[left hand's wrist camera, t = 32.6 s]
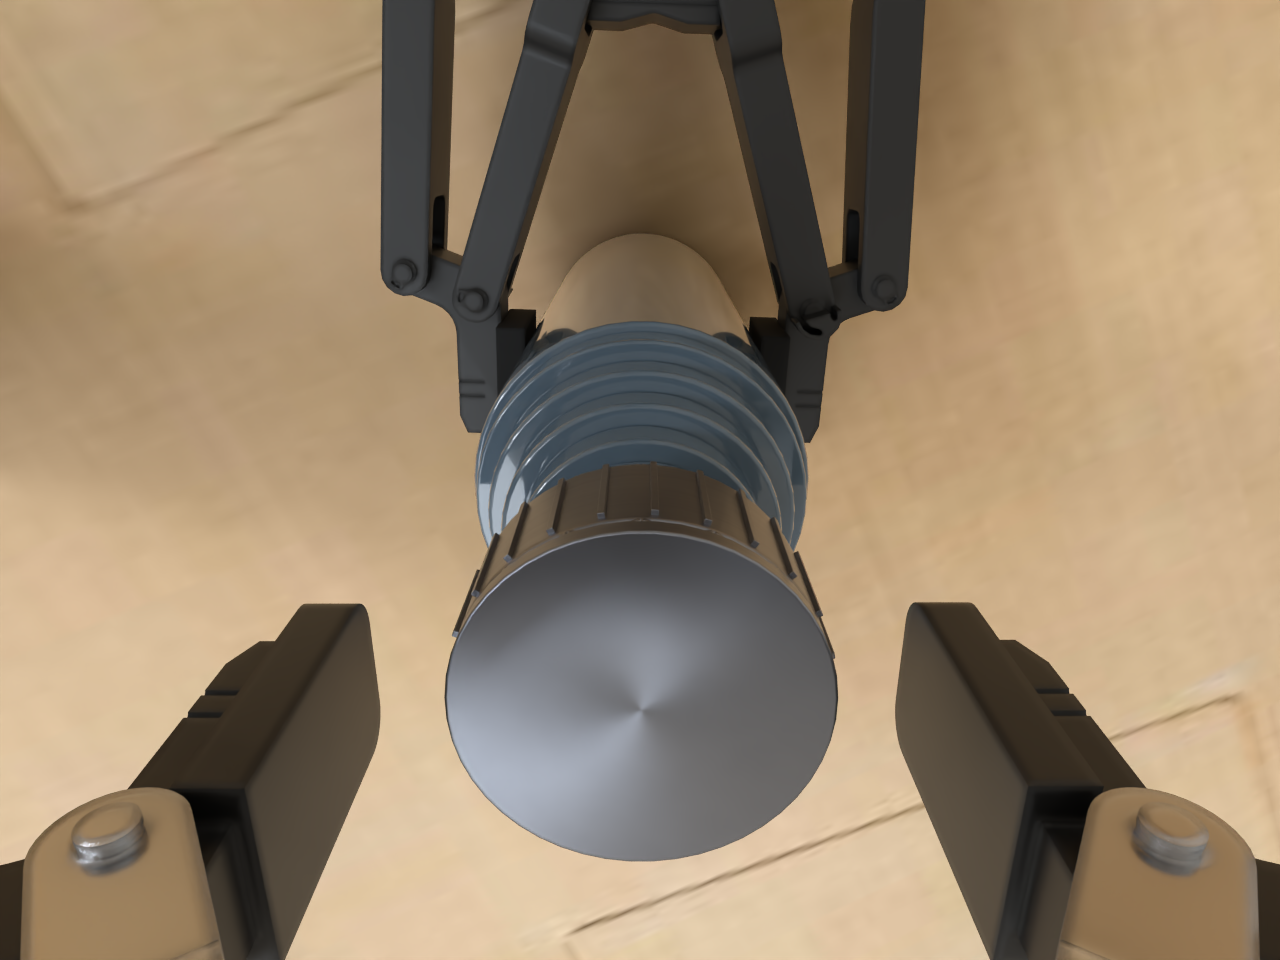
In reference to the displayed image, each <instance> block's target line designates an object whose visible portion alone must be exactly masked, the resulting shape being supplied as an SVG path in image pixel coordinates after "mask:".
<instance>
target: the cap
mask: <svg viewBox="0 0 1280 960" xmlns="http://www.w3.org/2000/svg"><path fill="white" fill-rule="evenodd" d="M821 616H823V614H822V611H821V608H820V606H819V603H818V601H817V598H816V595H815V593H814V590H813V588H812V585H811V582H810V580H809V577H808V574H807V572H806V569H805V567H804V564H803V561H802V559H801V556H800V554H799V552H798V551H797V552H795V553H794V552H793V550H792V549H791V547H790V545H789V543H788V541H787V540H786V538H785V536H784V535H783V534H782V531H781V528H780V526H779V523H778V520H777V519H776V518H775V517H772V518H771V519H770V518H769V517H768V516H767V515H766V514H765V513H764V512H763V511H762V510H761V509H760V508H759V507H758V506H757V505H756V504H754V503H753V502H752V501H750V500H749V499H748V498H746V495H745V492H744V491H743V490H742V489H739V490H738V491H736V490H734V489H732V488H731V487H729V486H727V485H725V484H723V483H721V482H720V481H717V480H715V479H712V478H710V477H708V476H705V475H704V473H703V471H701V470H698V469H697V471H696V472H692V471H688V470H684V469H680V468H676V467H668V466H660V465H657V462H654V461H650V465H648V464H641V465H640V464H635V465H623V466H614V467H610V466H609V464H605V465H603V467H602V469H599V470H595V471H591V472H587V473H583V474H580V475H578V476H575V477H573V478H571V479H568V480H565V478H561V479H559V480H558V484H557V485H556V486H554V487H552V488H550V489H548V490H547V491H545V492H543V493H542V494H541V495H539V496H538V497H536V498H535V499H534V500H532V501H531V502H530V503H527V502H526V501H525V502H523V503H522V504H521V506H520V509H519V512H518V513H517V514H516V515H515V516H514V517H513V518H512V519H511V520H510V522H509V523H508V524H507V526H506V527H505V528H504V529H503V531H502V532H501V533H500V535H499V534H497V533H495V534H494V536H493V537H492V540H491V543H490V545H489V548H488V550H487V553H486V556H485V558H484V561H483V564H482V566H481V569H480V570H477V571H476V573H475V576H474V579H473V581H472V584H471V586H470V589H469V592H468V594H467V597H466V599H465V602H464V605H463V607H462V610H461V612H460V615H459V618H458V620H457V623H456V625H455V628H454V631H453V634H452V636H453V637H456V641H455V643H454V646H453V649H452V652H451V655H450V659H449V664H448V668H447V673H446V681H445V707H446V718H447V722H448V726H449V730H450V734H451V738H452V741H453V744H454V746H455V749H456V751H457V753H458V756H459V758H460V761H461V762H462V764H463V766H464V767H465V769H466V771H467V772H468V774H469V776H470V777H471V779H472V781H473V782H474V783H475V784H476V786H477V787H478V788H479V789H480V791H481V792H482V793H483V794H484V796H485V797H486V798H487V799H488V800H489V801H490V802H491V803H492V804H493V805H494V806H496V807H497V808H498V809H499V810H500V811H501V812H502V813H503V814H504V815H506V816H507V817H508V818H510V819H511V820H512V821H514V822H515V823H516V824H518V825H519V826H521V827H522V828H524V829H526V830H527V831H529V832H531V833H533V834H534V835H536V836H538V837H539V838H542V839H544V840H546V841H548V842H551V843H553V844H555V845H557V846H560V847H562V848H566V849H569V850H572V851H575V852H578V853H581V854H585V855H590V856H595V857H599V858H604V859H612V860H622V861H661V860H671V859H679V858H684V857H688V856H693V855H698V854H702V853H705V852H708V851H711V850H714V849H718V848H721V847H723V846H726V845H728V844H730V843H732V842H735V841H737V840H739V839H741V838H744V837H745V836H747V835H749V834H750V833H752V832H754V831H756V830H757V829H759V828H761V827H762V826H764V825H765V824H767V823H768V822H769V821H771V820H772V819H773V818H775V817H776V816H777V815H779V814H780V813H781V812H782V811H783V810H784V809H785V808H786V807H787V806H788V805H789V804H790V803H792V802H793V801H794V800H795V799H796V798H797V797H798V795H799V794H800V793H801V792H802V790H803V789H804V788H805V787H806V785H807V784H808V783H809V782H810V780H811V779H812V777H813V775H814V774H815V772H816V770H817V769H818V767H819V765H820V764H821V762H822V760H823V758H824V755H825V753H826V751H827V748H828V746H829V743H830V741H831V737H832V733H833V729H834V725H835V722H836V715H837V704H838V687H837V674H836V670H835V665H834V661H833V659H835V654H834V651H833V648H832V645H831V643H830V640H829V637H828V635H827V632H826V629H825V627H824V624H823V621H822V619H821Z"/></svg>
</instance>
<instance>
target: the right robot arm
mask: <svg viewBox="0 0 1280 960" xmlns="http://www.w3.org/2000/svg"><path fill="white" fill-rule="evenodd" d="M924 15H925V0H853V4H852V12H851V23H850V47H849V76H848V104H847V133H846V162H845V191H844V220H843V248H842V263H841V264H838V265H835V266H832V267H829V268H828V267H827V262H826V258H825V253H824V248H823V244H822V239H821V234H820V230H819V225H818V220H817V216H816V211H815V206H814V202H813V197H812V193H811V188H810V183H809V179H808V174H807V169H806V165H805V160H804V155H803V151H802V146H801V141H800V137H799V132H798V127H797V123H796V118H795V113H794V109H793V104H792V99H791V95H790V90H789V85H788V81H787V76H786V71H785V67H784V62H783V56H782V39H781V32H780V26H779V22H778V17H777V12H776V7H775V3H774V0H533V4H532V7H531V11H530V14H529V18H528V22H527V26H526V31H525V38H524V46H523V50H522V54H521V57H520V61H519V64H518V67H517V71H516V74H515V78H514V81H513V85H512V88H511V92H510V95H509V99H508V102H507V106H506V109H505V112H504V116H503V119H502V123H501V126H500V130H499V133H498V137H497V140H496V144H495V147H494V151H493V154H492V157H491V161H490V164H489V168H488V171H487V175H486V178H485V182H484V185H483V189H482V192H481V196H480V199H479V202H478V206H477V209H476V213H475V216H474V220H473V223H472V227H471V230H470V234H469V237H468V241H467V244H466V247H465V251H464V254H463V256H461V255H458V254H456V253H453V252H451V251H448V250H447V236H448V207H449V177H450V148H451V118H452V89H453V59H454V30H455V0H383V6H382V145H381V275H382V279H383V281H384V283H385V284H386V286H387V287H388V288H389V289H390V290H391V291H393V292H394V293H396V294H399V295H402V296H408V295H413V296H416V297H418V298H421V299H424V300H426V301H429V302H431V303H434V304H436V305H438V306H440V307H442V308H443V309H444V310H446V311H447V312H448V313H449V315H450V316H451V317H452V319H453V321H454V323H455V326H456V331H457V350H458V374H459V393H460V416H461V418H462V420H463V422H464V424H465V427H466V429H467V431H468V432H471V433H481V432H482V430H483V427H484V424H485V422H486V419H487V417H488V414H489V412H490V411H491V409H492V407H493V405H494V403H495V401H496V400H497V398H498V396H499V394H500V392H501V391H502V389H503V387H504V385H505V384H506V382H507V380H508V378H509V376H510V375H511V373H512V371H513V369H514V368H515V366H516V364H517V362H518V360H519V359H520V357H521V355H522V353H523V352H524V350H525V348H526V346H527V344H528V343H529V341H530V339H531V337H532V336H533V334H534V332H535V330H536V310H524V309H510V310H509V311H508V297H509V296H510V294H511V292H512V290H513V289H512V288H511V287H512V284H513V281H514V277H515V274H516V271H517V268H518V265H519V261H520V258H521V255H522V252H523V249H524V245H525V242H526V239H527V236H528V233H529V229H530V226H531V223H532V220H533V217H534V213H535V210H536V207H537V204H538V201H539V197H540V194H541V191H542V188H543V185H544V181H545V178H546V175H547V172H548V169H549V165H550V162H551V159H552V156H553V153H554V149H555V146H556V143H557V140H558V137H559V133H560V130H561V127H562V124H563V121H564V118H565V114H566V111H567V108H568V105H569V102H570V98H571V95H572V92H573V89H574V86H575V82H576V79H577V76H578V73H579V70H580V68H581V66H582V64H583V61H584V58H585V55H586V52H587V49H588V46H589V43H590V40H591V36H592V33H593V30H610V31H624V30H628V29H632V28H636V27H639V26H643V25H647V24H651V23H654V24H658V25H661V26H664V27H667V28H670V29H673V30H676V31H679V32H681V33H692V34H712V37H713V41H714V46H715V50H716V54H717V58H718V62H719V65H720V68H721V71H722V74H723V76H724V80H725V84H726V88H727V92H728V96H729V100H730V105H731V109H732V113H733V117H734V121H735V126H736V130H737V134H738V138H739V142H740V147H741V151H742V155H743V159H744V163H745V167H746V172H747V176H748V180H749V184H750V188H751V193H752V197H753V201H754V205H755V209H756V214H757V218H758V222H759V226H760V230H761V235H762V239H763V243H764V247H765V251H766V256H767V260H768V264H769V268H770V272H771V277H772V281H773V285H774V289H775V293H776V298H777V302H778V304H779V310H778V320H777V319H776V318H766V317H750V325H749V333H750V335H751V337H752V339H753V340H754V342H755V344H756V346H757V347H758V349H759V351H760V353H761V355H762V356H763V358H764V360H765V362H766V364H767V365H768V367H769V369H770V371H771V372H772V374H773V376H774V378H775V380H776V381H777V383H778V385H779V387H780V389H781V390H782V392H783V394H784V396H785V397H786V399H787V401H788V403H789V405H790V407H791V409H792V411H793V413H794V415H795V416H796V419H797V421H798V424H799V427H800V430H801V433H802V436H803V439H804V443H810V442H811V440H812V438H813V436H814V434H815V432H816V430H817V429H818V427H819V420H820V411H821V402H822V391H823V384H824V375H825V366H826V358H827V349H828V342H829V338H830V336H831V335H832V334H833V333H834V332H835V331H836V330H837V329H838V328H839V325H840V323H842V322H843V321H845V320H847V319H849V318H852V317H855V316H858V315H861V314H864V313H867V312H870V311H874V310H876V311H882V312H884V311H888V310H892V309H893V308H895V307H896V306H898V305H899V304H900V303H901V302H902V300H903V299H904V297H905V296H906V292H907V288H908V273H909V257H910V240H911V224H912V208H913V192H914V176H915V160H916V144H917V128H918V111H919V95H920V79H921V63H922V47H923V31H924Z"/></svg>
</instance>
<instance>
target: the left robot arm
mask: <svg viewBox="0 0 1280 960" xmlns="http://www.w3.org/2000/svg"><path fill="white" fill-rule="evenodd" d="M895 719H896V730H897V736H898V741H899V745H900V748H901V751H902V754H903V756H904V758H905V761H906V763H907V765H908V768H909V770H910V772H911V775H912V777H913V780H914V782H915V784H916V787H917V789H918V791H919V794H920V796H921V798H922V801H923V803H924V805H925V808H926V810H927V812H928V815H929V817H930V820H931V822H932V824H933V827H934V829H935V831H936V834H937V836H938V838H939V841H940V843H941V845H942V848H943V850H944V852H945V855H946V857H947V859H948V862H949V864H950V867H951V869H952V871H953V874H954V876H955V878H956V881H957V883H958V885H959V888H960V890H961V892H962V895H963V897H964V899H965V902H966V904H967V906H968V909H969V911H970V914H971V916H972V918H973V921H974V923H975V925H976V928H977V930H978V932H979V935H980V937H981V939H982V942H983V944H984V946H985V949H986V951H987V953H988V956H989V958H990V960H1280V864H1276V863H1271V862H1267V861H1262V860H1259V859H1255V858H1254V856H1253V853H1252V851H1251V849H1250V848H1249V846H1248V845H1247V843H1246V842H1245V840H1244V839H1243V838H1242V837H1241V836H1240V835H1239V834H1238V833H1237V832H1236V831H1235V830H1234V829H1233V828H1232V827H1231V826H1229V825H1228V824H1227V823H1226V822H1225V821H1223V820H1222V819H1220V818H1219V817H1218V816H1216V815H1215V814H1213V813H1212V812H1210V811H1208V810H1206V809H1205V808H1203V807H1201V806H1199V805H1197V804H1195V803H1193V802H1191V801H1188V800H1186V799H1184V798H1181V797H1178V796H1175V795H1173V794H1169V793H1166V792H1162V791H1158V790H1152V789H1147V788H1146V787H1145V786H1144V784H1143V783H1142V782H1141V781H1140V779H1139V778H1138V777H1137V775H1136V774H1135V773H1134V772H1133V770H1132V769H1131V768H1130V766H1129V765H1128V764H1127V763H1126V761H1125V760H1124V759H1123V757H1122V756H1121V755H1120V754H1119V752H1118V751H1117V750H1116V748H1115V747H1114V746H1113V745H1112V743H1111V742H1110V741H1109V739H1108V738H1107V737H1106V736H1105V734H1104V733H1103V732H1102V730H1101V729H1100V728H1099V727H1098V725H1097V724H1096V723H1095V721H1094V720H1093V719H1092V718H1091V716H1086V710H1085V709H1084V707H1083V706H1082V705H1081V703H1080V702H1079V701H1078V700H1077V698H1076V697H1075V696H1074V694H1069V688H1068V687H1067V685H1066V684H1065V683H1064V682H1063V680H1062V679H1061V678H1060V676H1059V675H1058V674H1057V673H1056V671H1055V670H1054V669H1053V667H1052V666H1051V665H1050V664H1049V662H1047V661H1046V660H1044V659H1043V658H1041V657H1040V656H1038V655H1037V654H1035V653H1034V652H1032V651H1031V650H1029V649H1028V648H1026V647H1025V646H1023V645H1022V644H1020V643H1019V642H1017V641H1016V640H999V638H998V637H997V636H996V634H995V633H994V631H993V630H992V629H991V627H990V626H989V624H988V623H987V622H986V620H985V619H984V617H983V616H982V615H981V613H980V612H979V610H978V609H977V608H976V607H975V605H974V604H972V603H969V602H915V603H913V604H912V605H911V606H910V608H909V610H908V613H907V617H906V624H905V632H904V640H903V648H902V656H901V663H900V671H899V679H898V687H897V695H896V704H895ZM379 728H380V699H379V692H378V684H377V676H376V668H375V661H374V653H373V645H372V637H371V630H370V622H369V617H368V613H367V610H366V608H365V607H364V606H363V605H362V604H303V605H302V606H301V607H300V608H299V609H298V610H297V612H296V613H295V614H294V616H293V617H292V619H291V620H290V621H289V623H288V624H287V625H286V627H285V628H284V630H283V631H282V632H281V634H280V635H279V637H278V638H277V639H276V641H260V642H258V643H257V644H255V645H254V646H252V647H251V648H249V649H248V650H246V651H245V652H243V653H242V654H240V655H239V656H237V657H236V658H234V659H233V660H231V661H230V662H228V663H227V664H225V666H224V667H223V668H222V670H221V671H220V672H219V673H218V675H217V676H216V677H215V678H214V680H213V681H212V682H211V684H210V685H209V686H208V687H207V689H206V690H205V696H200V698H199V699H198V700H197V701H196V703H195V704H194V705H193V706H192V708H191V709H190V710H189V712H188V717H187V718H183V719H182V720H181V722H180V723H179V724H178V726H177V727H176V728H175V729H174V731H173V732H172V733H171V734H170V736H169V737H168V738H167V740H166V741H165V742H164V743H163V745H162V746H161V747H160V748H159V750H158V751H157V752H156V754H155V755H154V756H153V757H152V759H151V760H150V761H149V762H148V764H147V765H146V766H145V768H144V769H143V770H142V771H141V773H140V774H139V775H138V777H137V778H136V779H135V780H134V782H133V783H132V784H131V785H130V787H129V788H128V789H127V790H122V791H118V792H114V793H111V794H107V795H105V796H102V797H99V798H96V799H94V800H92V801H89V802H87V803H85V804H83V805H81V806H79V807H77V808H75V809H74V810H72V811H70V812H68V813H67V814H65V815H64V816H62V817H61V818H60V819H58V820H57V821H55V822H54V823H53V824H52V825H51V826H49V827H48V828H47V829H46V830H45V831H44V832H43V833H42V834H41V835H40V836H39V837H38V838H37V839H36V840H35V842H34V843H33V845H32V846H31V848H30V849H29V851H28V853H27V856H26V858H25V859H23V860H20V861H16V862H12V863H9V864H4V865H0V960H285V958H286V956H287V953H288V951H289V949H290V946H291V944H292V942H293V939H294V937H295V935H296V932H297V930H298V928H299V926H300V923H301V921H302V919H303V916H304V914H305V912H306V909H307V907H308V905H309V902H310V900H311V898H312V895H313V893H314V891H315V888H316V886H317V884H318V881H319V879H320V877H321V875H322V872H323V870H324V868H325V865H326V863H327V861H328V858H329V856H330V854H331V851H332V849H333V847H334V844H335V842H336V840H337V837H338V835H339V833H340V831H341V828H342V826H343V824H344V821H345V819H346V817H347V814H348V812H349V810H350V807H351V805H352V803H353V800H354V798H355V796H356V793H357V791H358V789H359V787H360V784H361V782H362V780H363V777H364V775H365V773H366V770H367V768H368V766H369V763H370V761H371V759H372V756H373V754H374V751H375V748H376V745H377V741H378V735H379Z"/></svg>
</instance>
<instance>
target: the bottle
mask: <svg viewBox="0 0 1280 960" xmlns="http://www.w3.org/2000/svg"><path fill="white" fill-rule="evenodd" d="M650 461H654V462H657V465H660V466H668V467H676V468H680V469H684V470H688V471H692V472H696V471H697V469H698V470H701V471H703V473H704V475H705V476H708V477H710V478H712V479H715V480H717V481H720V482H721V483H723V484H725V485H727V486H729V487H731V488H732V489H734V490H736V491H738V490H739V489H742V490H743V491H744V492H745V495H746V498H748V499H749V500H750V501H752V502H753V503H754V504H756V505H757V506H758V507H759V508H760V509H761V510H762V511H763V512H764V513H765V514H766V515H767V516H768V517H769V518H770V519H771V518H772V517H775V518H776V519H777V520H778V523H779V526H780V528H781V531H782V534H783V535H784V536H785V538H786V540H787V541H788V543H789V545H790V547H791V549H792V550H793V552H794V550H795V548H796V545H797V542H798V540H799V537H800V534H801V530H802V526H803V522H804V517H805V510H806V500H807V490H808V462H807V454H806V449H805V444H804V439H803V436H802V433H801V430H800V427H799V424H798V421H797V419H796V416H795V415H794V413H793V411H792V409H791V407H790V405H789V403H788V401H787V399H786V397H785V396H784V394H783V392H782V390H781V389H780V387H779V385H778V383H777V381H776V380H775V378H774V376H773V374H772V372H771V371H770V369H769V367H768V365H767V364H766V362H765V360H764V358H763V356H762V355H761V353H760V351H759V349H758V347H757V346H756V344H755V342H754V340H753V339H752V337H751V335H750V333H749V331H748V330H747V328H746V326H745V324H744V323H743V321H742V319H741V317H740V315H739V314H738V312H737V310H736V308H735V306H734V305H733V303H732V301H731V299H730V298H729V296H728V294H727V292H726V290H725V289H724V287H723V285H722V283H721V281H720V280H719V278H718V276H717V275H716V273H715V272H714V270H713V269H712V268H711V266H710V265H709V264H708V263H707V262H706V261H705V260H704V259H703V257H701V256H700V255H699V254H698V253H697V252H695V251H694V250H693V249H691V248H690V247H688V246H686V245H685V244H683V243H681V242H679V241H676V240H674V239H672V238H668V237H665V236H661V235H656V234H649V233H635V234H628V235H622V236H618V237H615V238H612V239H609V240H607V241H605V242H602V243H600V244H599V245H597V246H595V247H594V248H592V249H591V250H589V251H588V252H587V253H586V254H584V255H583V256H582V257H581V258H580V259H579V260H578V261H577V262H576V263H575V264H574V265H573V267H572V268H571V269H570V271H569V272H568V273H567V275H566V277H565V279H564V280H563V282H562V284H561V286H560V287H559V289H558V291H557V293H556V295H555V296H554V298H553V300H552V302H551V303H550V305H549V307H548V309H547V311H546V312H545V314H544V316H543V318H542V319H541V321H540V323H539V325H538V327H537V328H536V330H535V332H534V334H533V336H532V337H531V339H530V341H529V343H528V344H527V346H526V348H525V350H524V352H523V353H522V355H521V357H520V359H519V360H518V362H517V364H516V366H515V368H514V369H513V371H512V373H511V375H510V376H509V378H508V380H507V382H506V384H505V385H504V387H503V389H502V391H501V392H500V394H499V396H498V398H497V400H496V401H495V403H494V405H493V407H492V409H491V411H490V412H489V414H488V417H487V419H486V422H485V424H484V427H483V430H482V432H481V435H480V440H479V444H478V449H477V453H476V463H475V490H476V499H477V512H478V516H479V521H480V526H481V531H482V534H483V537H484V539H485V542H486V545H487V548H489V545H490V543H491V540H492V537H493V536H494V534H495V533H497V534H499V535H500V533H501V532H502V531H503V529H504V528H505V527H506V526H507V524H508V523H509V522H510V520H511V519H512V518H513V517H514V516H515V515H516V514H517V513H518V512H519V509H520V506H521V504H522V503H523V502H525V501H526V502H527V503H530V502H531V501H532V500H534V499H535V498H536V497H538V496H539V495H541V494H542V493H543V492H545V491H547V490H548V489H550V488H552V487H554V486H556V485H557V484H558V480H559V479H561V478H565V480H568V479H571V478H573V477H575V476H578V475H580V474H583V473H587V472H591V471H595V470H599V469H602V467H603V465H605V464H609V466H610V467H614V466H623V465H635V464H640V465H641V464H648V465H650Z"/></svg>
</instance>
